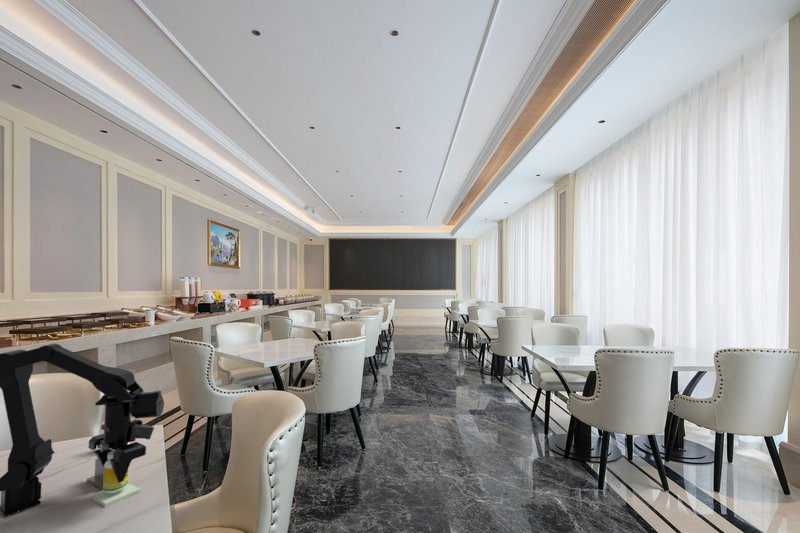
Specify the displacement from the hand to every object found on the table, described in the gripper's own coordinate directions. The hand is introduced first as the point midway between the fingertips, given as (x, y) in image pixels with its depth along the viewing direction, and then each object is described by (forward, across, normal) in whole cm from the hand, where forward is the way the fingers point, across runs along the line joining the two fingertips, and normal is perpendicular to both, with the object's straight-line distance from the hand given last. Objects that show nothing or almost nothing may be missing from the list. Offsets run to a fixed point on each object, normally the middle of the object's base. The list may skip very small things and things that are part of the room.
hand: (115, 478), depth 102 cm
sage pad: (+4, 0, 0) cm, 4 cm away
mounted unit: (+4, +10, -2) cm, 11 cm away
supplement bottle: (+3, 0, 0) cm, 3 cm away
